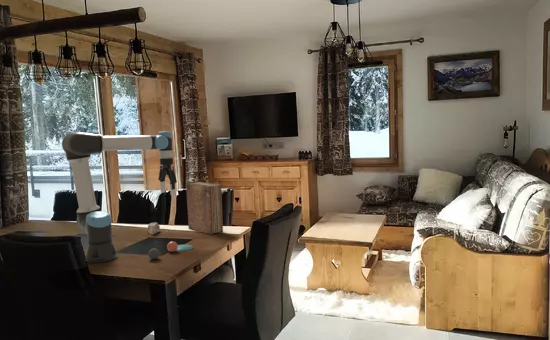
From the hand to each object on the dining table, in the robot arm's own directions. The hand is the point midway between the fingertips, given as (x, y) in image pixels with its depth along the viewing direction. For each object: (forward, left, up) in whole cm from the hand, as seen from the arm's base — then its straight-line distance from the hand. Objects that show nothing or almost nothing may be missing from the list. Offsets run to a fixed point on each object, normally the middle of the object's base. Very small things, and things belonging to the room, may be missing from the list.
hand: (168, 193), depth 264 cm
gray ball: (-27, -32, -24) cm, 48 cm away
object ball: (-14, -27, -24) cm, 39 cm away
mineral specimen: (0, +20, -27) cm, 34 cm away
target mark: (-8, -25, -27) cm, 37 cm away
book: (+24, -1, -27) cm, 36 cm away
